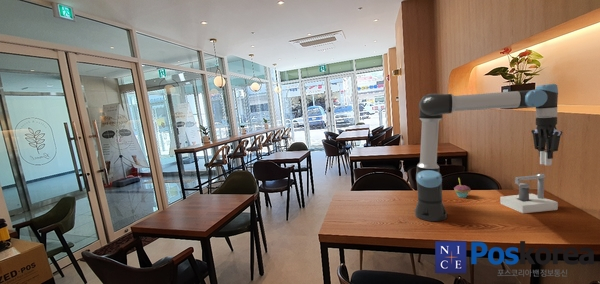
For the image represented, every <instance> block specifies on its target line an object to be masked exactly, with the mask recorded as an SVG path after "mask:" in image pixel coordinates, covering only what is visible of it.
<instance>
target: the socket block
mask: <svg viewBox="0 0 600 284" xmlns="http://www.w3.org/2000/svg"><path fill="white" fill-rule="evenodd" d="M544 193H545V179H537V194H535V193H529V201H526V202H523V201H520V200H519V194H516V195H514V194H513V195H506V196H499V197H500V203H499V204H501V205H502V206H505V207H507V208H510V209H512V210H515V211H517V212H519V213H521V214H528V213H538V212H540V213H541V212H548V211H557V210H558V207H559V203H558V201H555V200H553V199H549V198H547V197H545V196H544Z"/></svg>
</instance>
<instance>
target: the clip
mask: <svg viewBox="0 0 600 284" xmlns="http://www.w3.org/2000/svg"><path fill="white" fill-rule="evenodd" d="M545 178H546V174H544V173H536V175H525V176H515V177H514V184H515V185H519V184H520V183H521V181H531V180H538V179H544V180H545Z"/></svg>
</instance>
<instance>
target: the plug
mask: <svg viewBox="0 0 600 284" xmlns="http://www.w3.org/2000/svg"><path fill="white" fill-rule="evenodd" d="M529 194H530V183H524V182H520V184H518V195H519V200H520V201H523V202H526V201H529Z"/></svg>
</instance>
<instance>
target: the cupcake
mask: <svg viewBox="0 0 600 284" xmlns="http://www.w3.org/2000/svg"><path fill="white" fill-rule="evenodd" d="M458 183H459V184H458V185H456V186H454V187H453V189H454V192H455V193H456V195H457V197H459V198H464V199H465V198H467V197H468V194H469V193H470V192H471V187H470V186H467V185H465V184H461V179H460V177H458Z"/></svg>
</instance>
